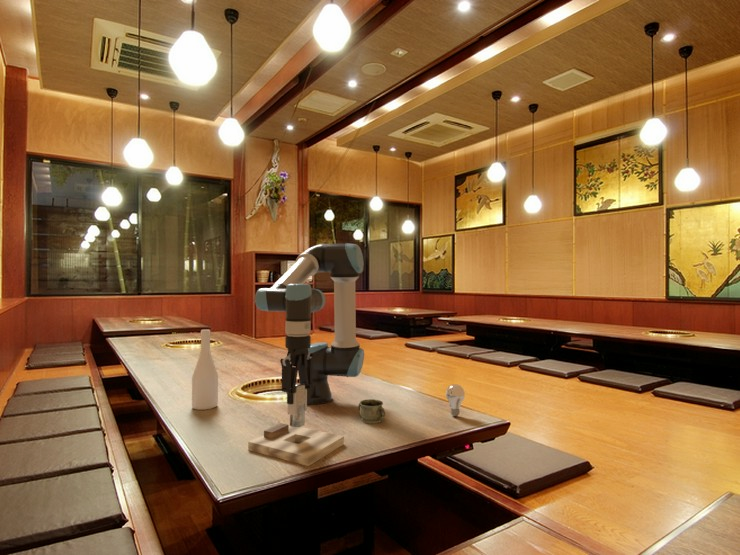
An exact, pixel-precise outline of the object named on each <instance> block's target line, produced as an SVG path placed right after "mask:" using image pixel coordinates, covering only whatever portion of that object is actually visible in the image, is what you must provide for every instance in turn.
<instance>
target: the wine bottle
mask: <svg viewBox="0 0 740 555" xmlns="http://www.w3.org/2000/svg"><path fill="white" fill-rule="evenodd" d="M218 403H219V373H218V370H217V368H216V365H215V362H214V359H213V356H212V353H211V330H210V329H201V330H200V353H199V356H198V359H197V361H196V365H195V368H194V370H193V373H192V377H191V407H192V409H193V410H198V411H204V410H205V411H206V410H210V409H214V408H216V407H217V406H218V405H219V404H218Z"/></svg>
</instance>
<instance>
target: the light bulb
mask: <svg viewBox="0 0 740 555" xmlns="http://www.w3.org/2000/svg"><path fill="white" fill-rule="evenodd" d="M445 397H446V399H447V401H448V403H449V407H450V415H452V417H454V418H457V417H458V416H459V415H460V408H461V405H462V402H463V401H464V399H465V390H464V387H462V386H461V385H460V384H457V383H453V384H450V385H449V386H447V388H446V390H445Z"/></svg>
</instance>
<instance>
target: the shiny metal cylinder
mask: <svg viewBox="0 0 740 555" xmlns="http://www.w3.org/2000/svg"><path fill="white" fill-rule="evenodd" d="M294 393H297V404H296V415H290V414H289V424H290V426H292V427H304V426H305V422H306V421H305V419H306V418H305V415H306V411H305V384H303V383H299V382H296V386H295V392H294Z"/></svg>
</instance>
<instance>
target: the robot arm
mask: <svg viewBox="0 0 740 555" xmlns="http://www.w3.org/2000/svg"><path fill="white" fill-rule="evenodd" d="M364 262H365V261H364V256H363V252H362V249H361V247H360V246H359V245H358V244H356V243H348V242H346V243H319V244H316V245H313V246H311V247H308V248H307V249H306V250H304V251H302V252H301V253H300V254H299V255H298V256H297V258H296V259H295V262H294V263H293V265H292V266H290V267H289V268H288V270H287V271H286V272H284V274H282V275H281V276H280V277H279V279H278V280H276V281H275V282H274V283H273V284H272V285H271V286H270V287H262V288H258V289H257V290H256V293H255V296H254V303H255V306H256V308H257V309H258V310H259V311H263V312H264V311H265V312H285V330H284V331H285V334H286V335H285V342H284V343H285V345H284V346H285V348H286V349H287V354H286V357H284V358H280V366H281V392H284V393H285V394H286V404H287V415H289V416H290V415H296V404H297V393H294V392H295V386H296V383H297V379H298V380H299V381H298V383H303V384H305V412H307V409H308V408H307V407H308V405H321V404H326V403H328V402H331V401H332V397H333V396H332V392H331V389H330V384H329V382H328V381H329V380H328V377H330V376H331V377H332V376H333V377H346V378H356V377H358V376H359V375H360V373H361V372H362V369H363V366H364V361H365V350H364V348H362V347H360V342H359V341H358V340H357V339H356V338H357V337H356V332H357V330H356V329H357V327H356V326H357V323H356V321H357V320H356V319H357V318H356V316H357V315H356V314H357V313H356V312H357V311H356V308H357V307H356V281H357V280H358V279H359V278H360V274H362V273H363V272H364V266H365V264H364ZM317 273H329V275H330V276H329V277H330V279H331V280H332V281H333V289H334V290H333V295H334V296H333V298H334V299H333V300H334V301H333V302H334V303H333V305H334V307H333V308H334V310H333V311H334V339H333V341H332V342H331V344H330V346H329V344H328V343H327V342H315V343H314V342H313V343H311V341H312V339H311V338H312V337H311V335H310V334H311V329H312V328H311V323H312V322H311V320H312V313H317V312H318V311H321V309H323V308H324V306H326V296H325V294H324V292H323V291H321V290H320V289H316V288H312V285H311V284H309V283H306V281H307V280H308V279H309V278H310V277H312V276H315V275H316V274H317ZM297 377H298V378H297Z"/></svg>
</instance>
